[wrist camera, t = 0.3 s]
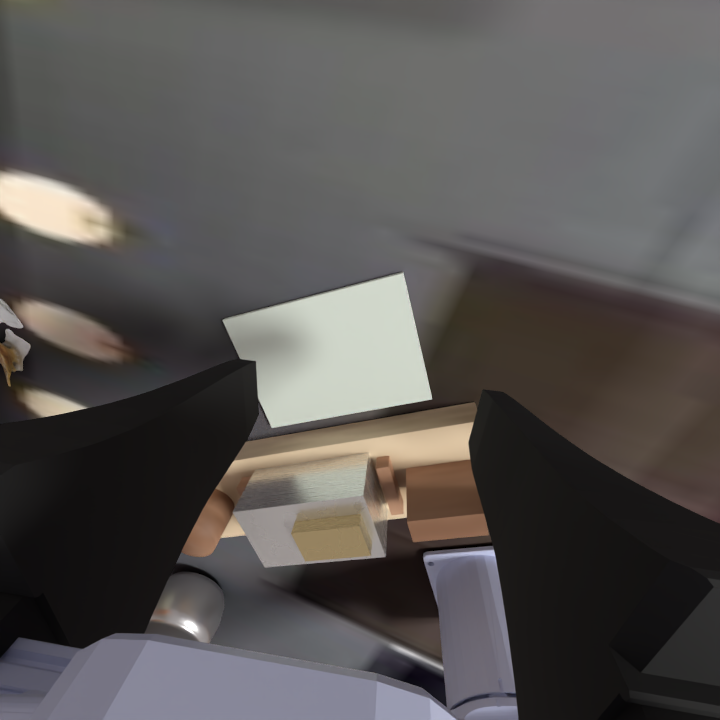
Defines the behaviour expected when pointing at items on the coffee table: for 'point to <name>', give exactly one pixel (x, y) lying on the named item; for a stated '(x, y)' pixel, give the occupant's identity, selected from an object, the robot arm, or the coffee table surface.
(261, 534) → the brass-inlaid steel block
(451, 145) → the coffee table surface
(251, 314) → the felt pad
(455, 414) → the hand plane
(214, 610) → the plastic bottle
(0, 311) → the frog figurine
